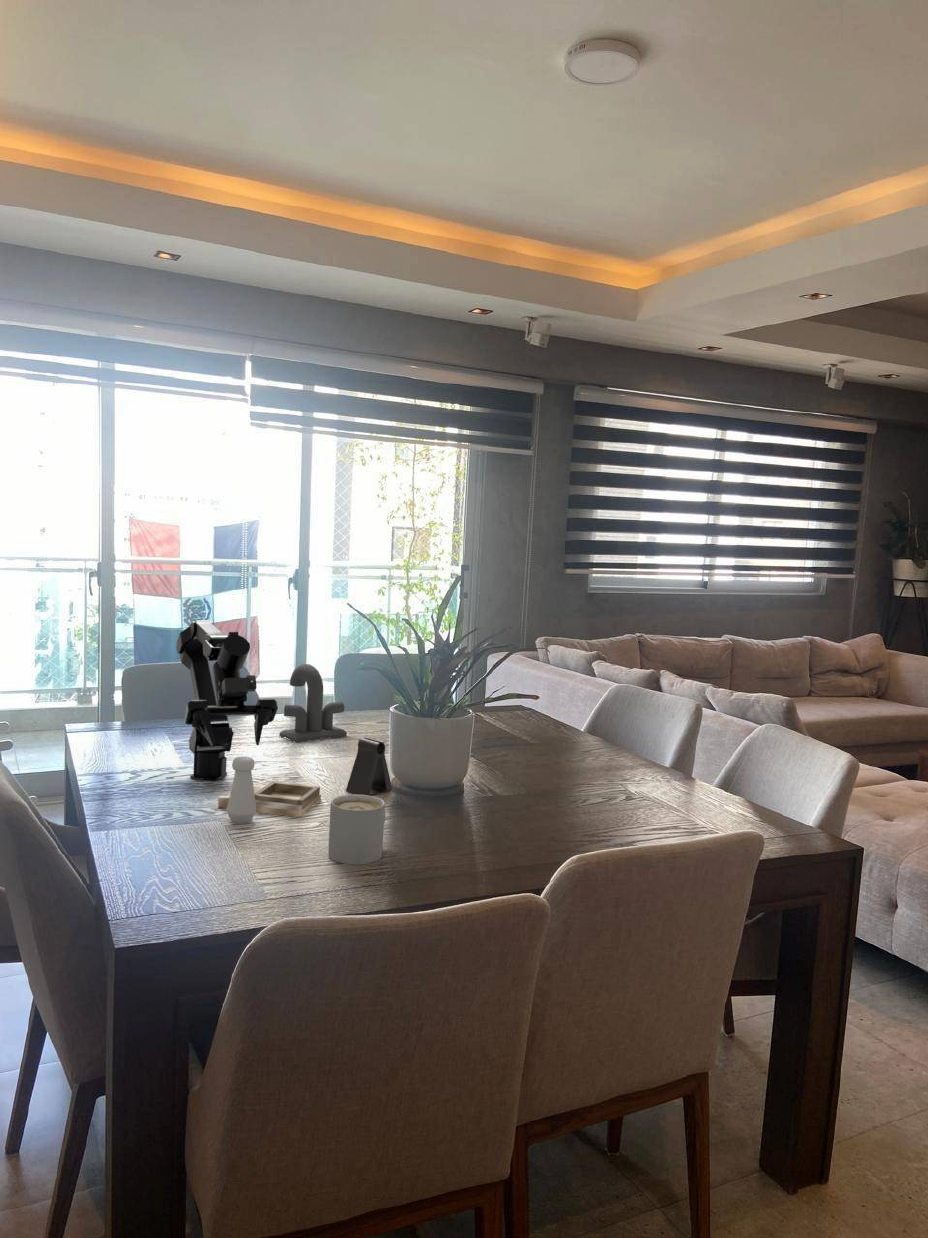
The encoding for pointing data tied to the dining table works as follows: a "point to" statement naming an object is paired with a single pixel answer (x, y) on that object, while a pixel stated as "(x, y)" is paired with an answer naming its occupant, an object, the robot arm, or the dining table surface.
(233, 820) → the salt shaker
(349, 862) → the coffee mug
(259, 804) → the wooden tray
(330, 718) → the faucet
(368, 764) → the dark brown phone stand
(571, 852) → the dining table surface
